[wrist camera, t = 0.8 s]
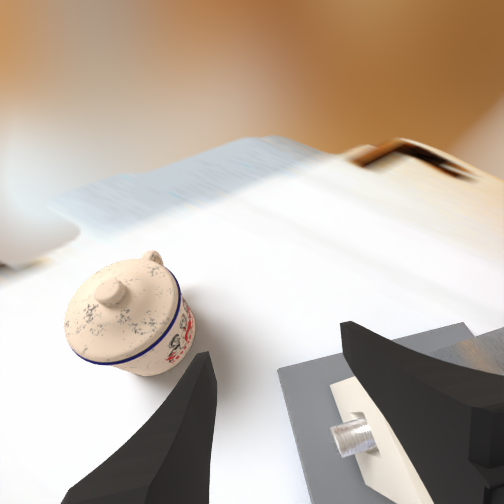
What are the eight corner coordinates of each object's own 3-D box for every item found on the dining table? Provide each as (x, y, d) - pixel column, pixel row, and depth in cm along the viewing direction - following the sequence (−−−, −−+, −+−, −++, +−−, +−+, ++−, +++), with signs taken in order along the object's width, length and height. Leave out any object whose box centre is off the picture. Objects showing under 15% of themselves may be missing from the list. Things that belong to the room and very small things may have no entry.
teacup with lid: (194, 377, 24) (158, 352, 14) (104, 381, 24) (6, 359, 14) (203, 275, 31) (182, 213, 21) (133, 277, 30) (81, 215, 21)
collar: (392, 475, 19) (470, 508, 12) (365, 484, 18) (431, 524, 12) (352, 378, 22) (395, 364, 16) (329, 385, 22) (363, 373, 16)
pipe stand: (535, 432, 21) (723, 445, 12) (339, 500, 18) (414, 572, 10) (469, 341, 25) (575, 307, 17) (304, 385, 23) (335, 369, 14)
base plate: (550, 456, 21) (567, 458, 20) (321, 540, 18) (325, 548, 17) (455, 325, 27) (464, 321, 26) (277, 370, 24) (278, 368, 23)
